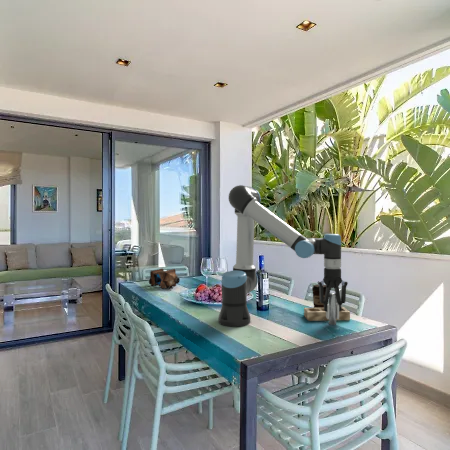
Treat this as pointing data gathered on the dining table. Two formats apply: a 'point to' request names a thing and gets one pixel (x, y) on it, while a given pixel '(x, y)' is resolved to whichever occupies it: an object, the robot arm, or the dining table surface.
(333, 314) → the peg
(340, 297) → the peg right
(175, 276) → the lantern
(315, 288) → the coffee cup
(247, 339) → the dining table surface
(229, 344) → the dining table surface
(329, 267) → the robot arm
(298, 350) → the dining table surface
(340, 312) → the hole block
